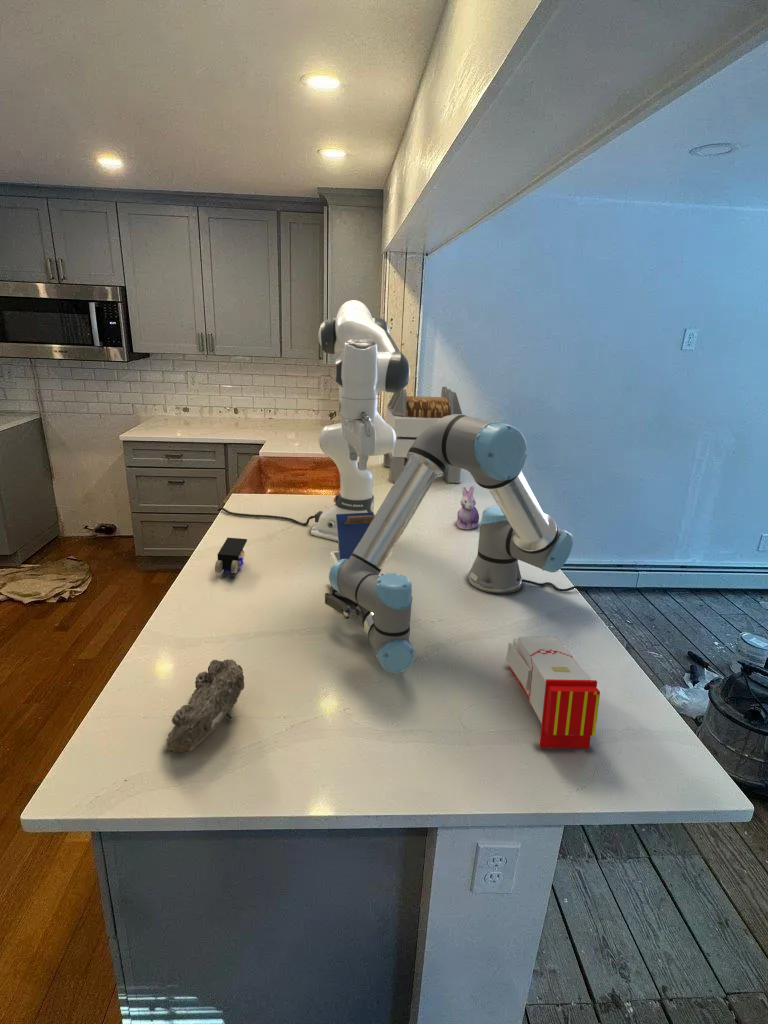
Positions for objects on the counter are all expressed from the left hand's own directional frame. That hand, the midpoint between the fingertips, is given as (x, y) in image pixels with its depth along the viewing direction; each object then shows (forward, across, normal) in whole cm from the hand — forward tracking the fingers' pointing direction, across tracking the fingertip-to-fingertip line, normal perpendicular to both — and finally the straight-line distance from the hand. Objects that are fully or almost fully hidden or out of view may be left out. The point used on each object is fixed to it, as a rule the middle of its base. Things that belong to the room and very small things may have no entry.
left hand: (357, 464), depth 141 cm
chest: (+38, +2, 0) cm, 38 cm away
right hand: (+31, -3, 0) cm, 31 cm away
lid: (+20, -2, 0) cm, 20 cm away
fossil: (+38, -40, +37) cm, 66 cm away
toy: (+38, -50, -28) cm, 69 cm away
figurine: (+38, +46, -54) cm, 80 cm away
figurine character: (+38, +24, +31) cm, 55 cm away
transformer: (+38, +116, -60) cm, 136 cm away
